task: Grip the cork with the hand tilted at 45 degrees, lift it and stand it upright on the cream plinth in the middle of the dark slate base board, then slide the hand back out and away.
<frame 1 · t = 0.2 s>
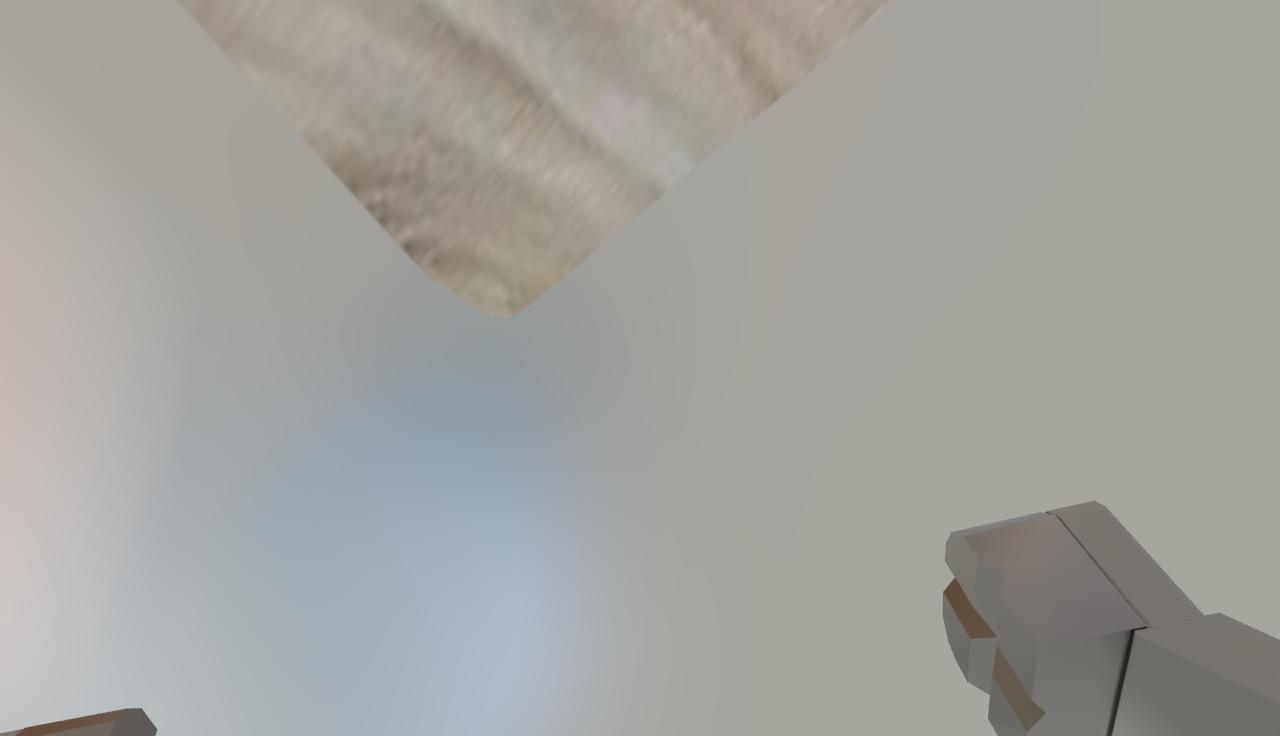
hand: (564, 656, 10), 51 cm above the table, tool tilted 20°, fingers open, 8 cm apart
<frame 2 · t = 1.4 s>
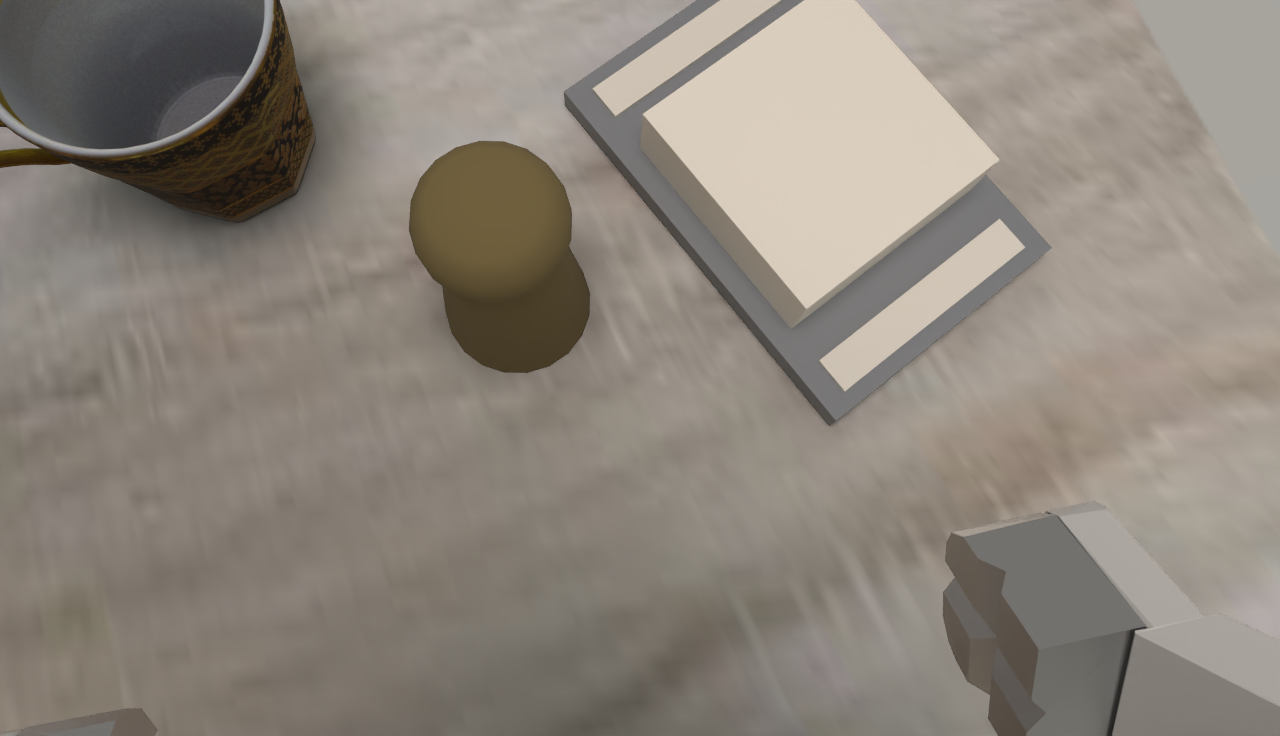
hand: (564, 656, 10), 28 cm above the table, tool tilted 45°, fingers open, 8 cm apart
cork: (518, 304, 40), on the table
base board: (799, 180, 41), on the table
ceramic cup: (206, 168, 40), on the table
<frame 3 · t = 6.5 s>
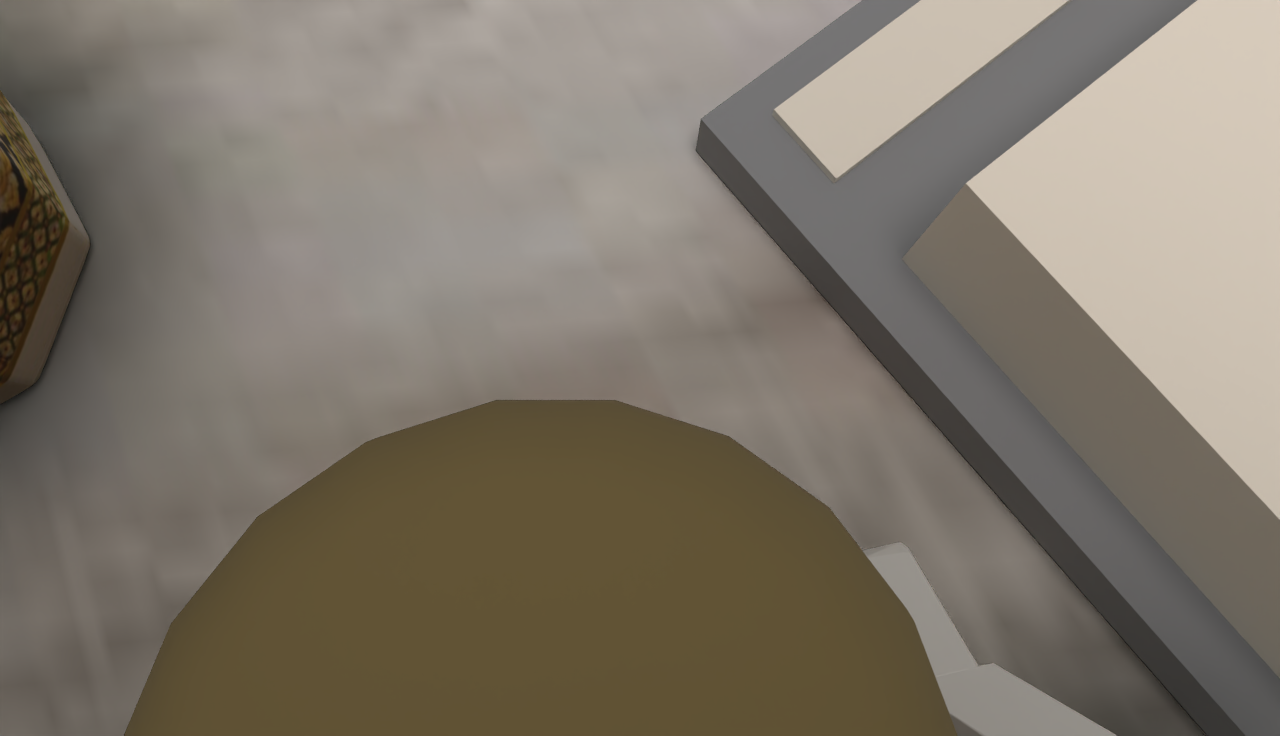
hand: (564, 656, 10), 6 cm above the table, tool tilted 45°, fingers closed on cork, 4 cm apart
cork: (596, 668, 15), on the table, touching gripper
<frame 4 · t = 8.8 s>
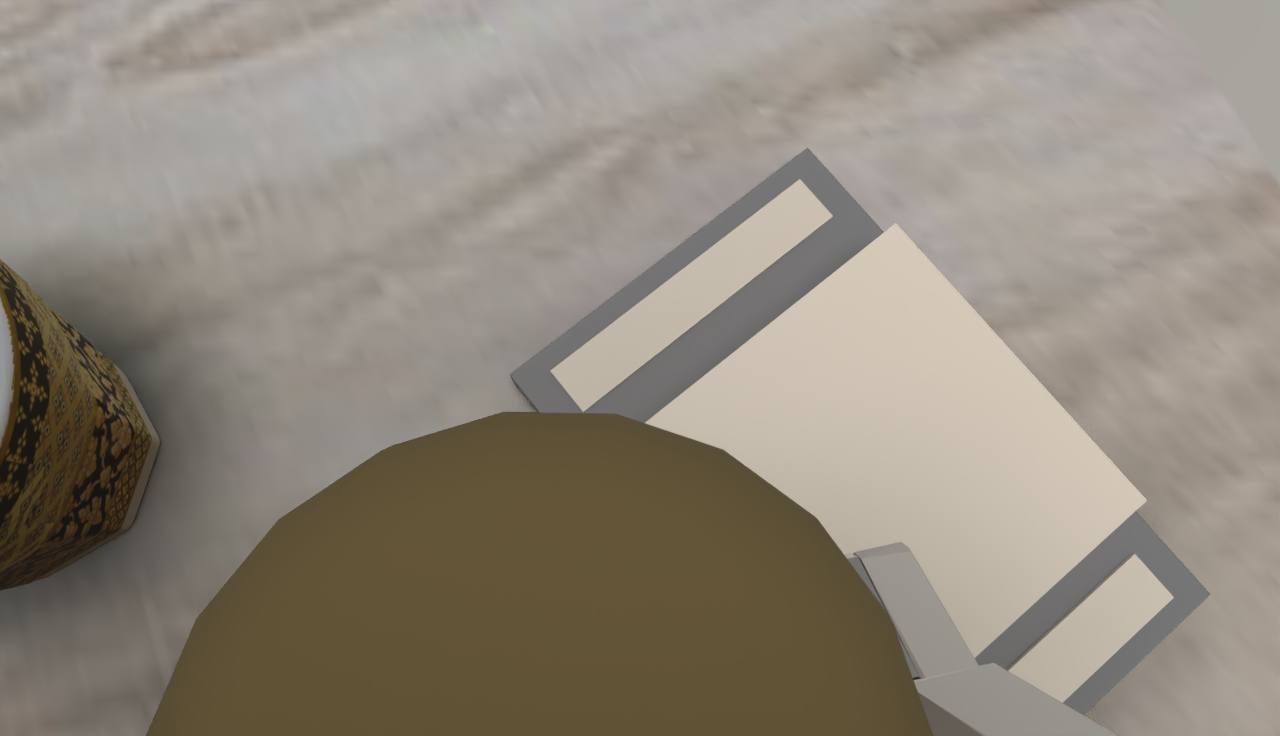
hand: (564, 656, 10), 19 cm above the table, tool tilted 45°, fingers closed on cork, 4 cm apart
cork: (595, 669, 16), point 13 cm above the table, touching gripper
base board: (845, 486, 29), on the table
ceramic cup: (6, 489, 28), on the table
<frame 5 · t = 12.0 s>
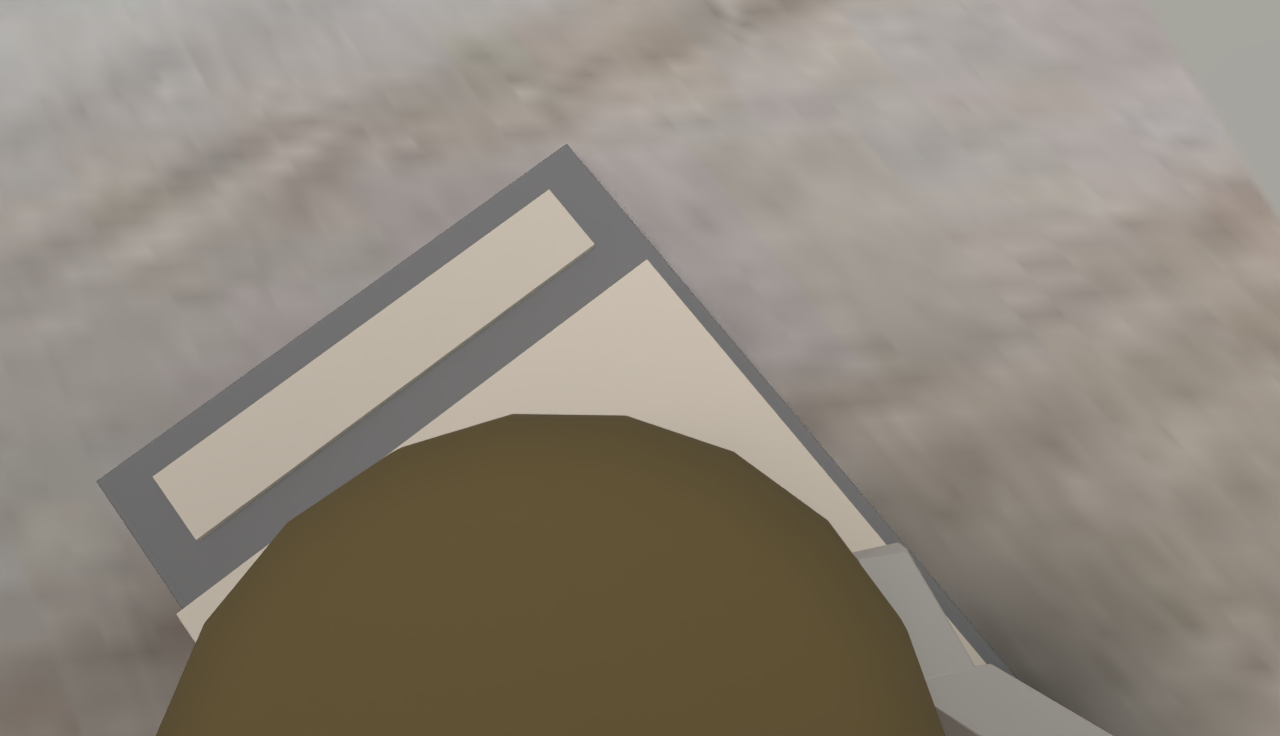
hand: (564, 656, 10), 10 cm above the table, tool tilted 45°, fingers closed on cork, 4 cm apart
cork: (598, 669, 16), point 4 cm above the table, touching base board, gripper
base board: (605, 646, 20), on the table
when the fingers open (10 cm above the table, at t = 12.2 s): cork stays where it is, resting on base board.
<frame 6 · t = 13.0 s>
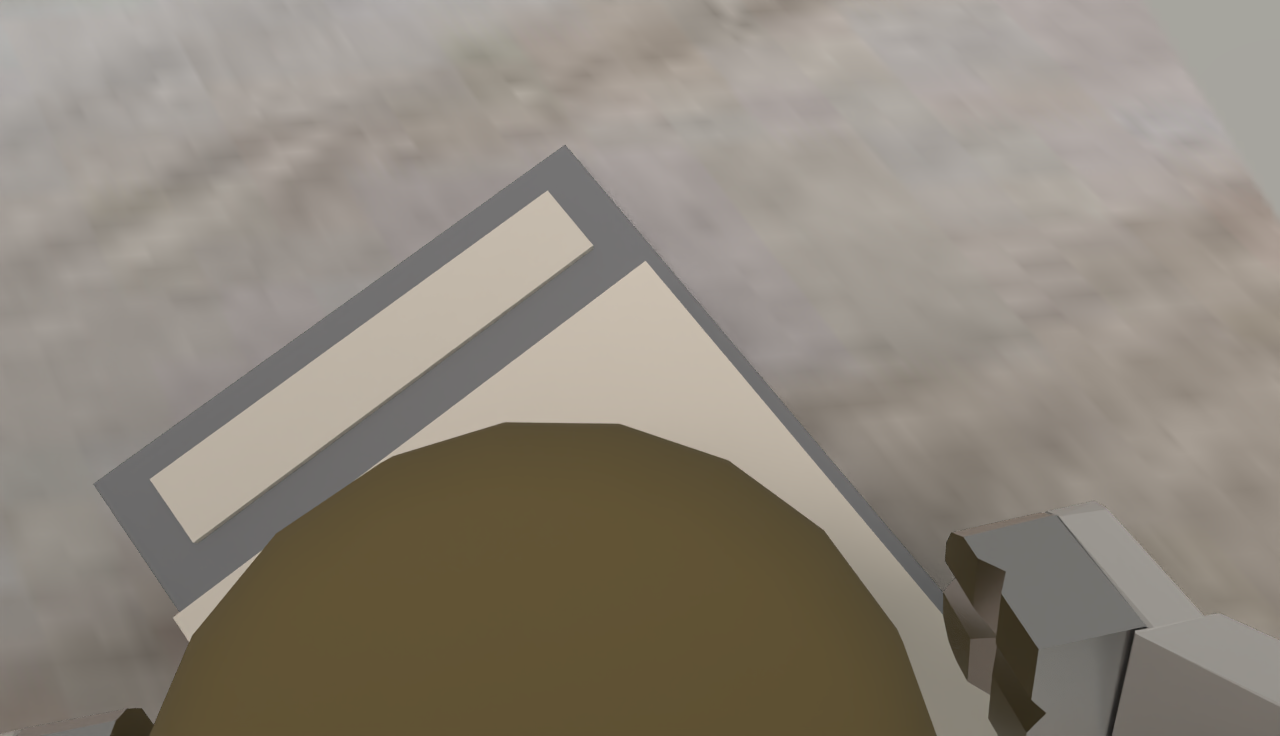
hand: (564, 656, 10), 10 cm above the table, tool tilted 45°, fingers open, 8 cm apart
cork: (597, 673, 16), point 4 cm above the table, touching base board
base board: (604, 649, 19), on the table
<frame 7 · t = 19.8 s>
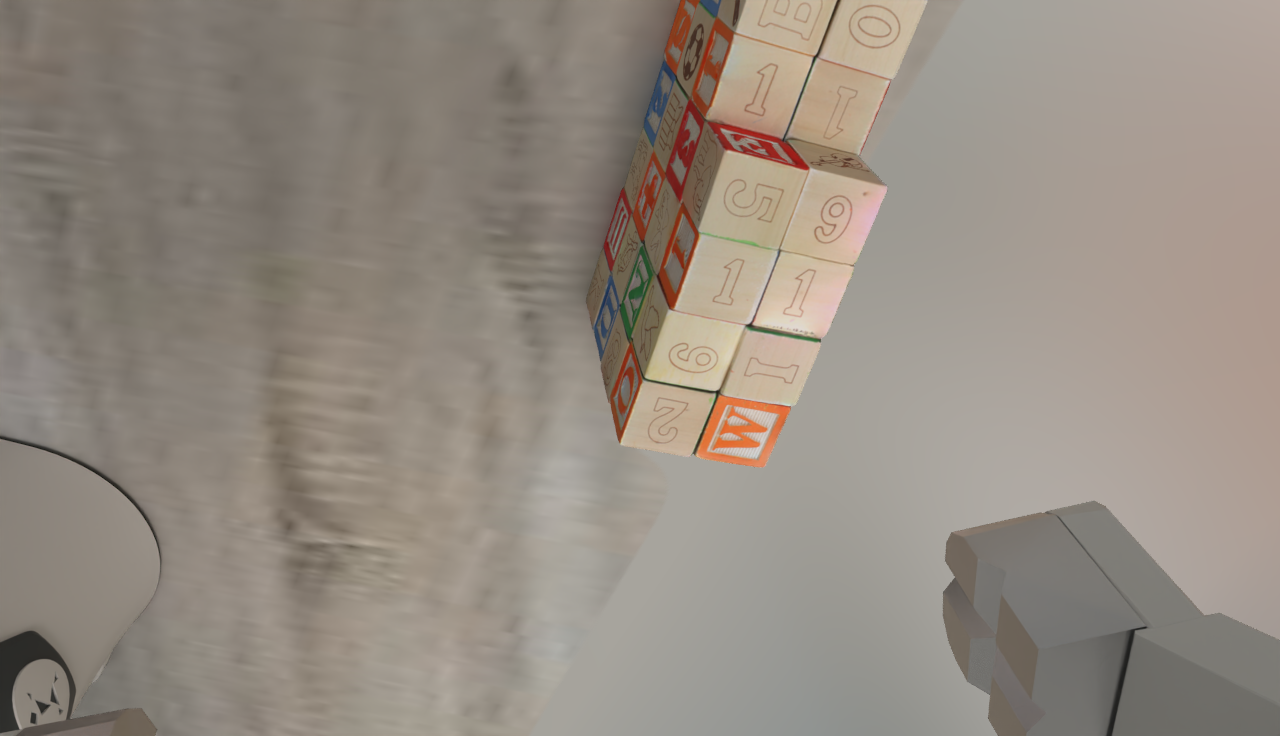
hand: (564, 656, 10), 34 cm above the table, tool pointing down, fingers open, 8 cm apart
stack of blocks: (713, 107, 42), on the table
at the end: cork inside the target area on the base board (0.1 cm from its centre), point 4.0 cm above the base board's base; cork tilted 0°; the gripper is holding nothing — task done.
